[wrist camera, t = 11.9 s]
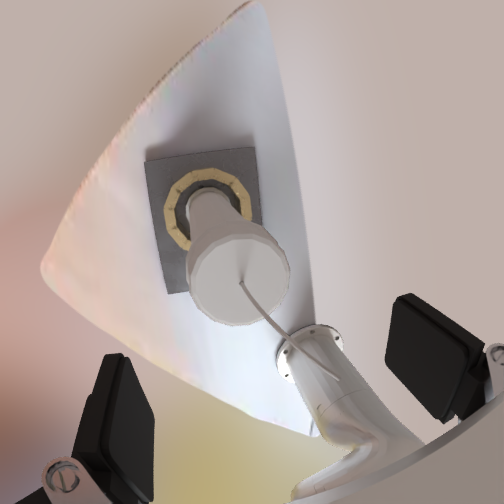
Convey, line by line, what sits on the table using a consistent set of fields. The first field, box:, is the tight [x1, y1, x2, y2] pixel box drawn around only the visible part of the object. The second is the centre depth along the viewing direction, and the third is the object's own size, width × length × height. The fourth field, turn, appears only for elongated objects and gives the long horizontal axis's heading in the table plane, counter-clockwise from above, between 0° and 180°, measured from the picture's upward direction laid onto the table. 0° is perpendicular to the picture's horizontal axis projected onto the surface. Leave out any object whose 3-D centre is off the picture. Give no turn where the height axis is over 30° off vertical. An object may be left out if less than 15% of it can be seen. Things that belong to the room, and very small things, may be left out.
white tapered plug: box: [186, 187, 341, 381], centre depth 23 cm, size 6×6×30 cm
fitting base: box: [144, 147, 262, 294], centre depth 37 cm, size 18×14×6 cm
